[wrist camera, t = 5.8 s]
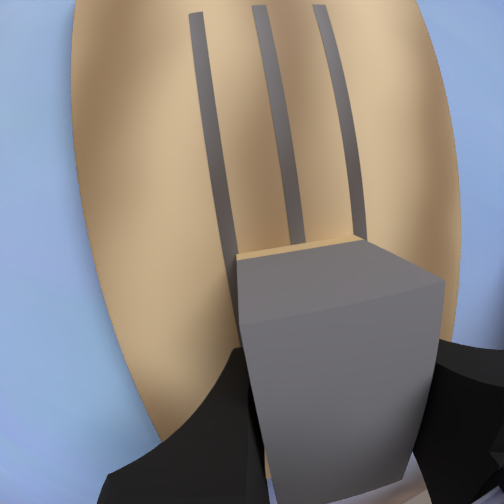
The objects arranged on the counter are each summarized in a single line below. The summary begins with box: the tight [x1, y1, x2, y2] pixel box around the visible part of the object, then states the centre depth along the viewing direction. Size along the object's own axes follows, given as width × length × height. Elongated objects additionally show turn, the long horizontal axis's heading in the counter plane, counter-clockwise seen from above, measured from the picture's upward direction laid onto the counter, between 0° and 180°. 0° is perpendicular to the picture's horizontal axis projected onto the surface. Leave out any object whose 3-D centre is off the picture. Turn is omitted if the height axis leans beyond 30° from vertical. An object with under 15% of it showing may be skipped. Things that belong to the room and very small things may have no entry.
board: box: [71, 0, 461, 479], centre depth 10 cm, size 14×26×2 cm, turn 8°
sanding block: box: [236, 235, 445, 504], centre depth 8 cm, size 4×7×5 cm, turn 9°
